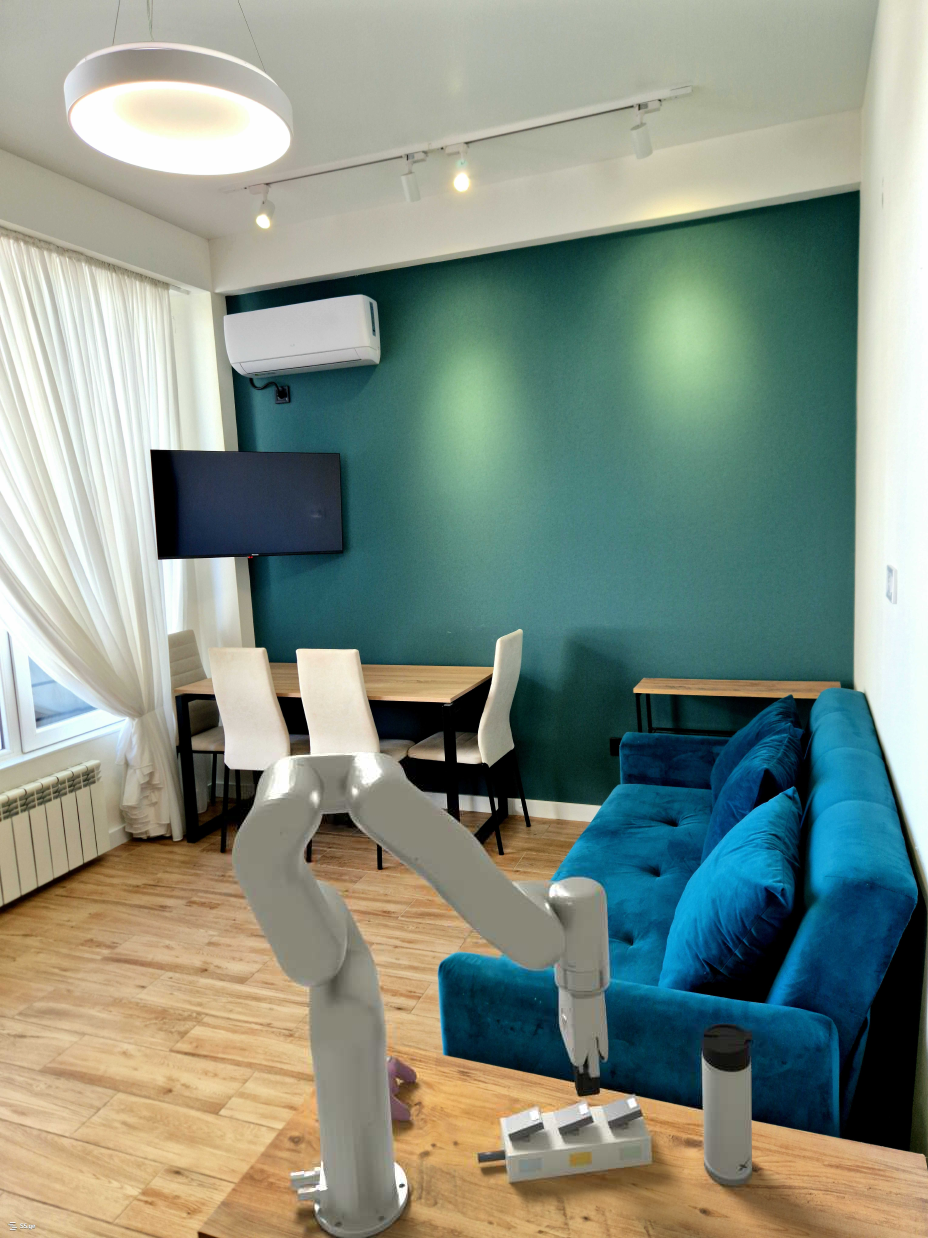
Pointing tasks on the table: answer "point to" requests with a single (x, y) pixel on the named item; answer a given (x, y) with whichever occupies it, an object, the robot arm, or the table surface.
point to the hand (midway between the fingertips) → (587, 1091)
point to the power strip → (572, 1148)
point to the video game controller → (405, 1074)
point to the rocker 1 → (524, 1123)
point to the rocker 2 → (622, 1111)
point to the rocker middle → (573, 1117)
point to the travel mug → (727, 1103)
